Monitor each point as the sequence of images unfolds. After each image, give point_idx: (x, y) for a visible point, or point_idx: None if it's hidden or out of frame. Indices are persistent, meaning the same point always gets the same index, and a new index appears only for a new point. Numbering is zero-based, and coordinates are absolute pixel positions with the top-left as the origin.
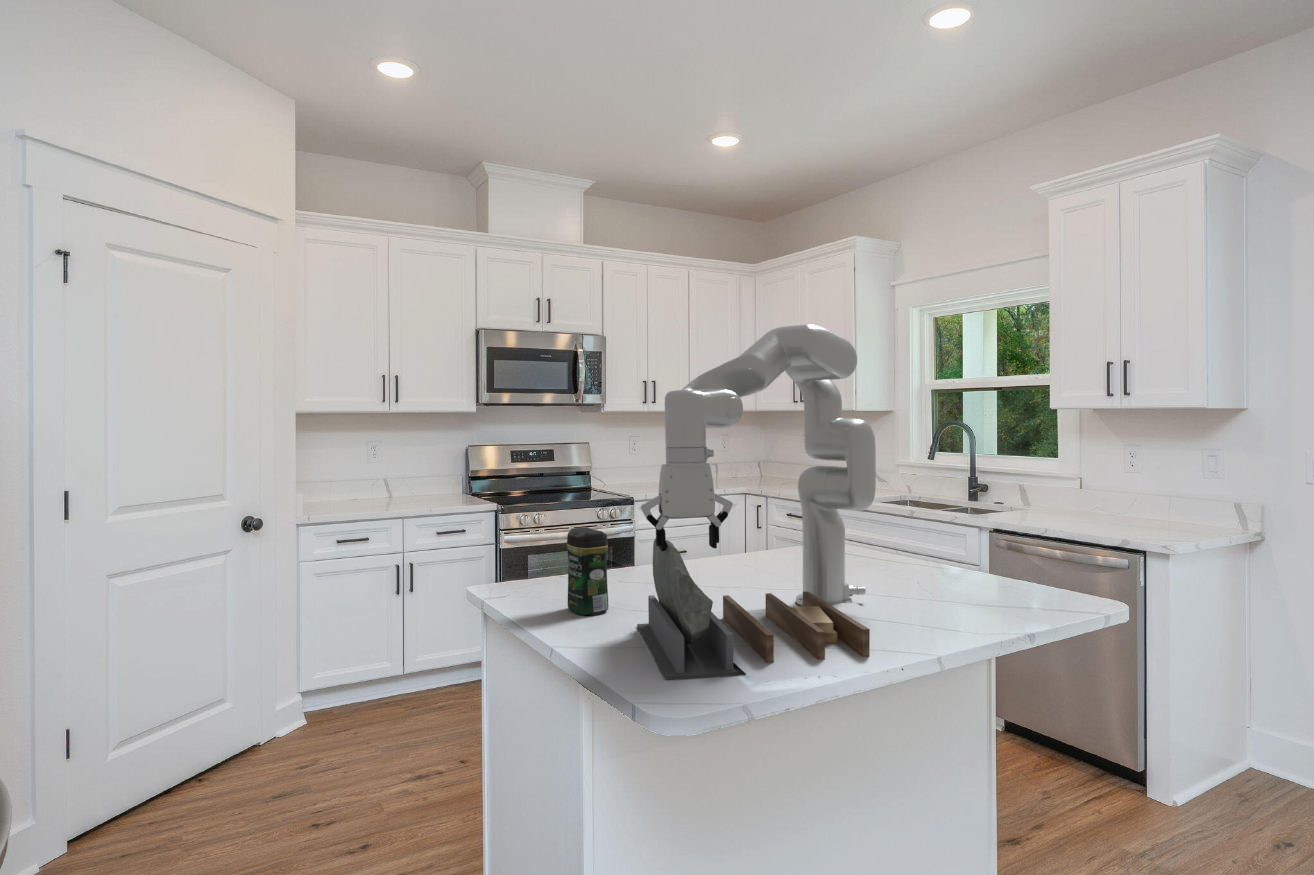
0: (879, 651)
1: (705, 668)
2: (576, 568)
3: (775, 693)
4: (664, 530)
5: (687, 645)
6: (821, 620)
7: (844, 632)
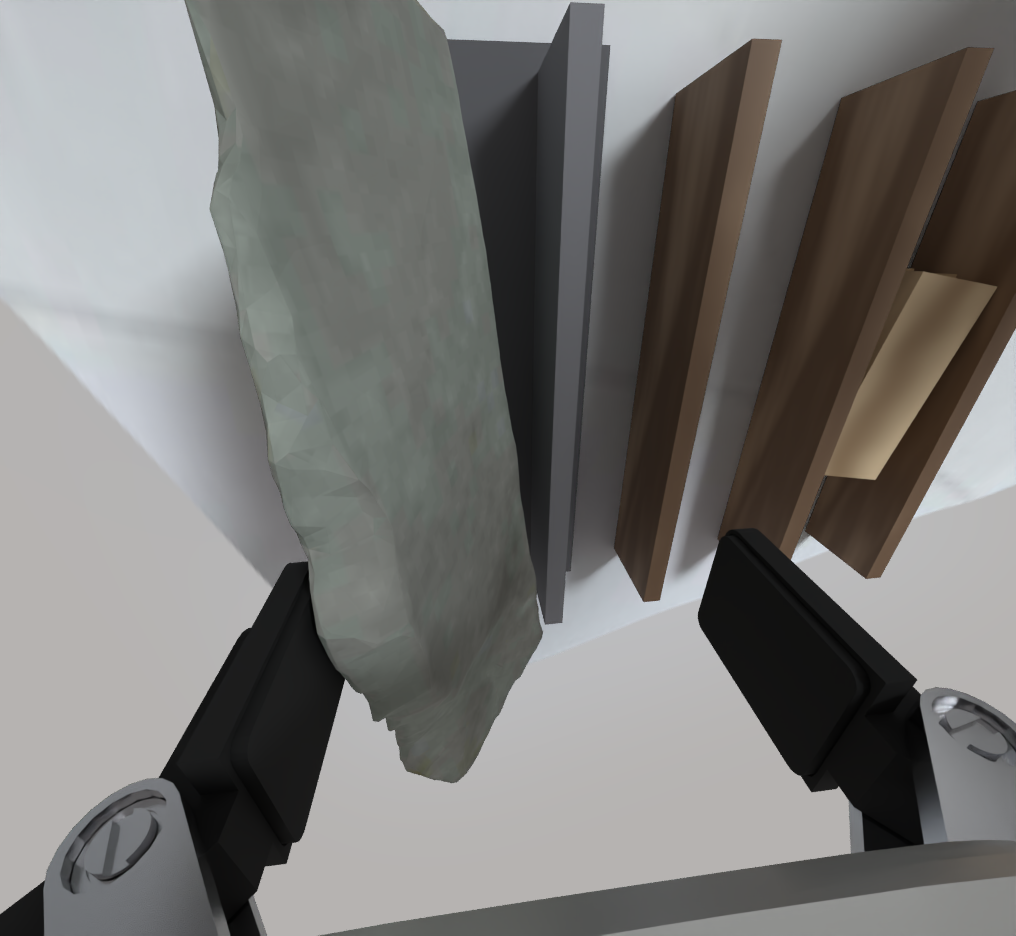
0: None
1: None
2: None
3: (581, 636)
4: (290, 842)
5: None
6: (865, 457)
7: None
